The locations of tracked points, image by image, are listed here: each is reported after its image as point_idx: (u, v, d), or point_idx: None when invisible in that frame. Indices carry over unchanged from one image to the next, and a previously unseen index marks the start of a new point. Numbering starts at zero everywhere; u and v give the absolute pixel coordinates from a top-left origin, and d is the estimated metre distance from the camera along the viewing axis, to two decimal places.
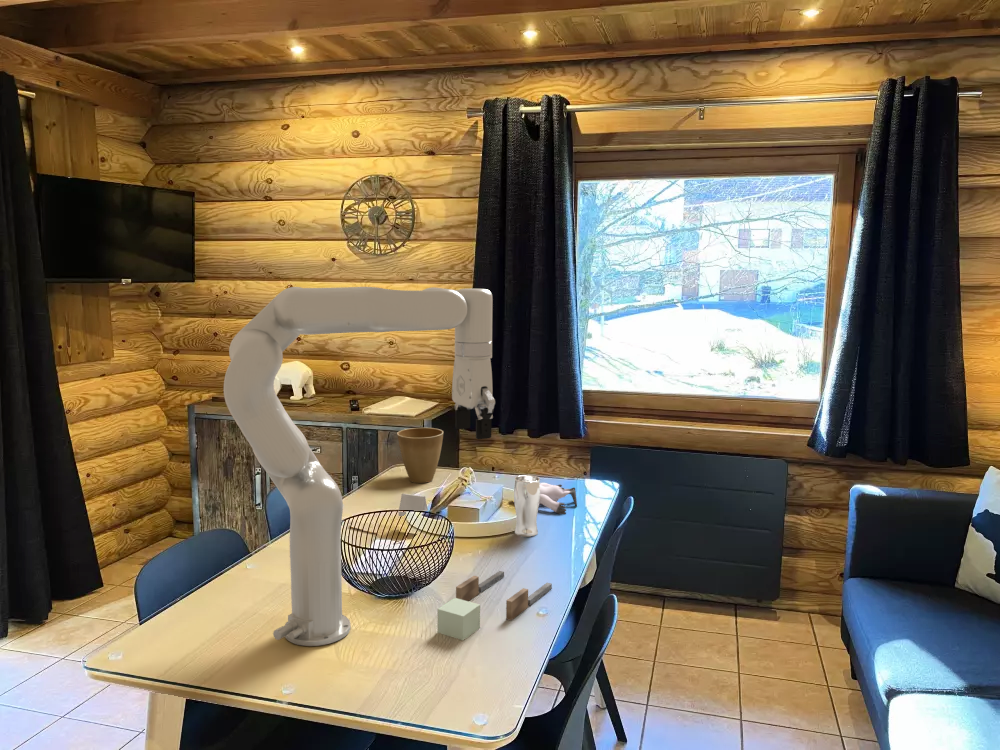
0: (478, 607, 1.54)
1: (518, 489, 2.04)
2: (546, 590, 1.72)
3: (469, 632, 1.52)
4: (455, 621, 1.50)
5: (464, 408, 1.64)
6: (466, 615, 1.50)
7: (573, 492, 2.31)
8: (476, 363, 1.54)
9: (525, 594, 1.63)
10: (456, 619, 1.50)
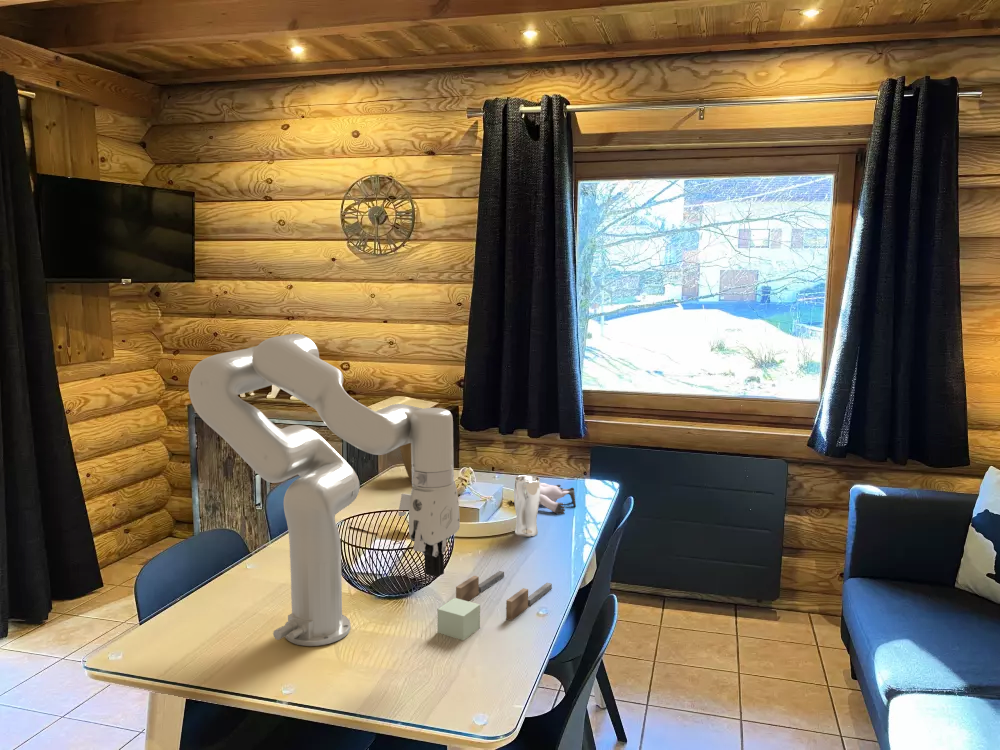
0: (478, 607, 1.54)
1: (518, 489, 2.04)
2: (546, 590, 1.72)
3: (469, 632, 1.52)
4: (455, 621, 1.50)
5: None
6: (466, 615, 1.50)
7: (572, 492, 2.31)
8: None
9: (525, 594, 1.63)
10: (456, 619, 1.50)
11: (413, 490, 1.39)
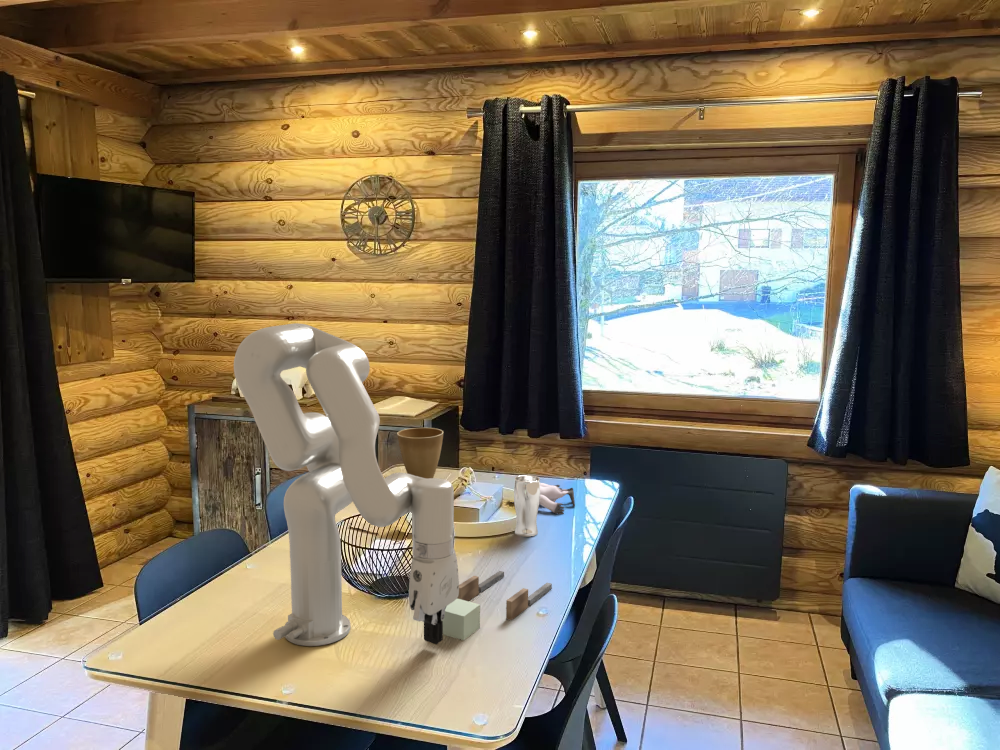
0: (478, 607, 1.54)
1: (518, 489, 2.04)
2: (546, 590, 1.72)
3: (469, 632, 1.52)
4: (455, 621, 1.50)
5: None
6: (466, 615, 1.50)
7: (571, 492, 2.31)
8: None
9: (525, 594, 1.63)
10: (456, 619, 1.50)
11: (413, 561, 1.41)
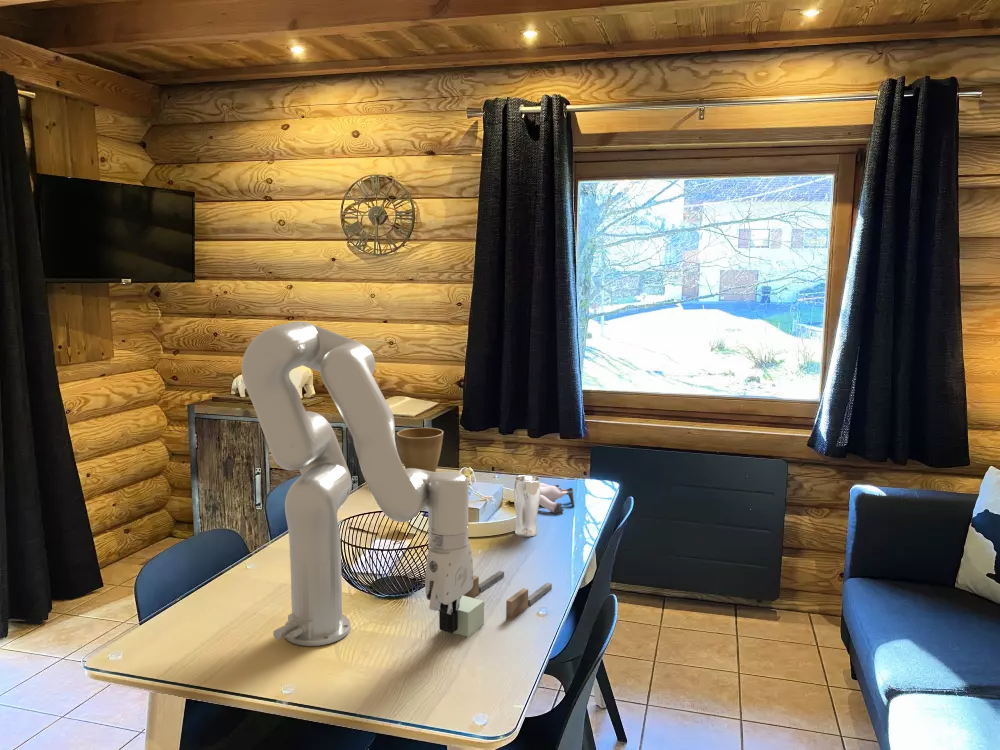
0: (482, 603, 1.55)
1: (518, 489, 2.04)
2: (546, 590, 1.72)
3: (474, 628, 1.53)
4: (459, 617, 1.52)
5: None
6: (471, 611, 1.52)
7: (570, 492, 2.31)
8: None
9: (525, 594, 1.63)
10: (461, 615, 1.52)
11: (430, 552, 1.45)
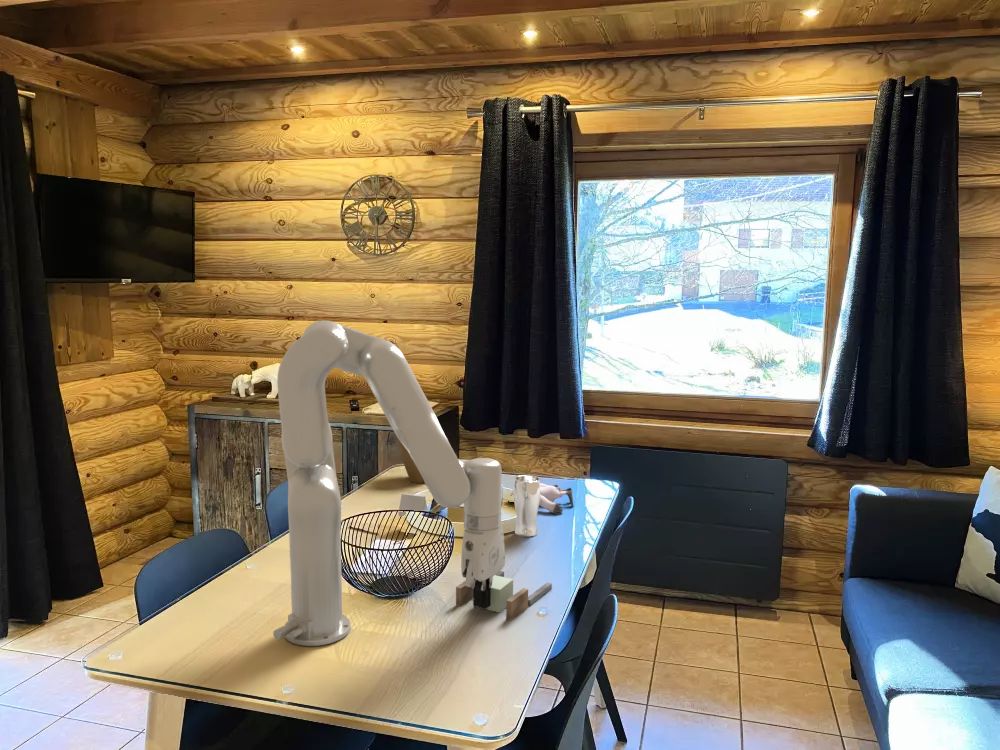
0: (511, 581, 1.66)
1: (518, 489, 2.04)
2: (546, 590, 1.72)
3: (504, 604, 1.64)
4: (491, 594, 1.62)
5: None
6: (502, 588, 1.62)
7: (569, 492, 2.31)
8: None
9: (525, 594, 1.63)
10: (493, 592, 1.62)
11: (465, 532, 1.56)
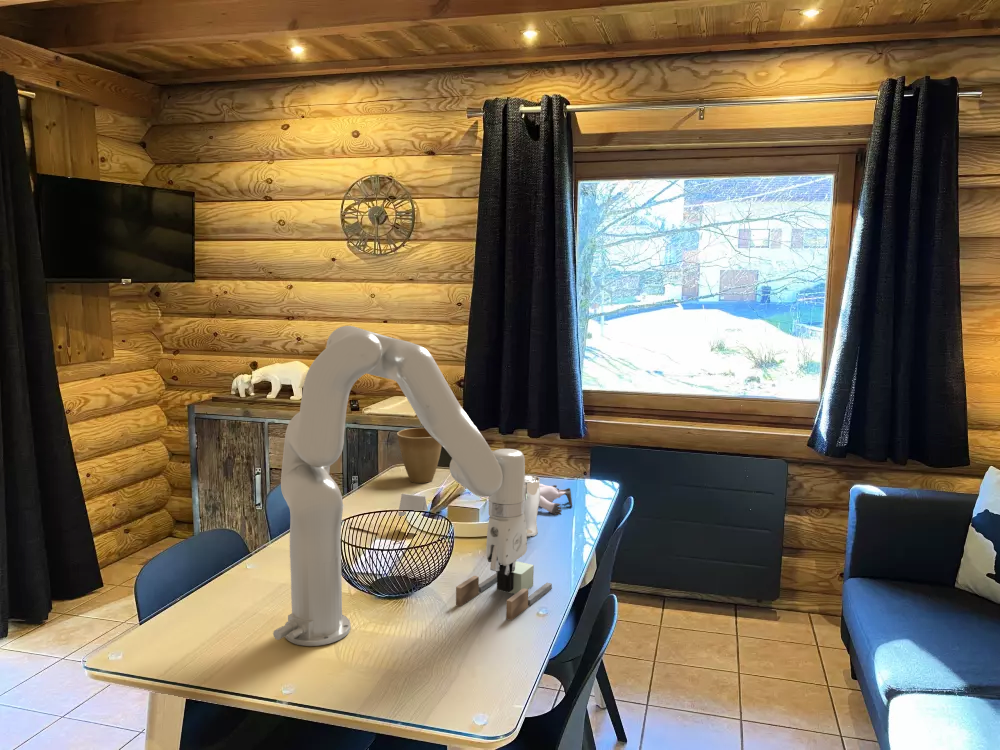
0: (532, 567, 1.74)
1: None
2: (546, 590, 1.72)
3: None
4: None
5: None
6: (523, 573, 1.70)
7: (568, 493, 2.31)
8: None
9: (525, 594, 1.63)
10: (514, 577, 1.70)
11: (491, 519, 1.64)
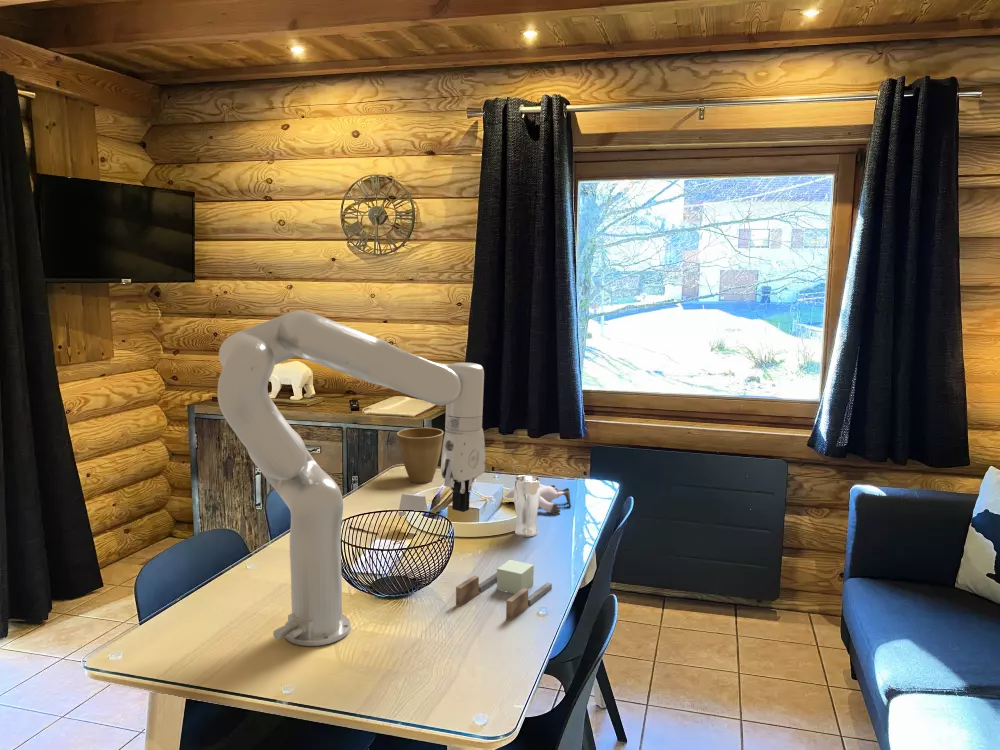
0: (532, 567, 1.74)
1: (518, 489, 2.04)
2: (546, 590, 1.72)
3: (525, 588, 1.72)
4: (513, 578, 1.71)
5: None
6: (523, 573, 1.70)
7: (567, 493, 2.30)
8: None
9: (525, 594, 1.63)
10: (515, 576, 1.70)
11: (446, 433, 1.58)
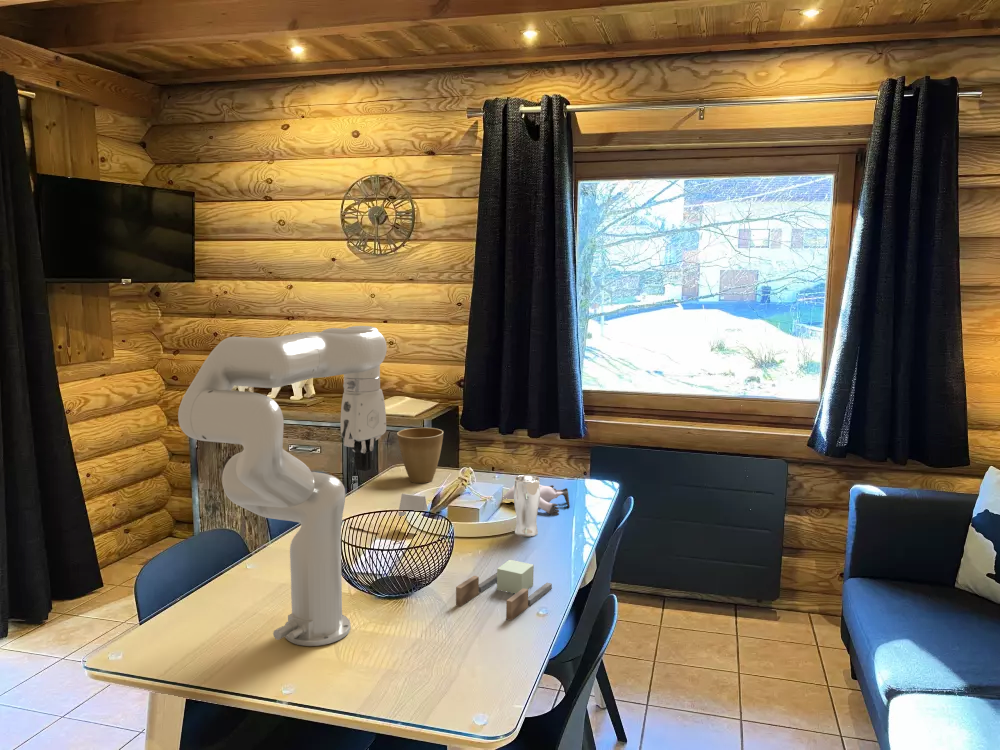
0: (532, 567, 1.74)
1: (518, 489, 2.04)
2: (546, 590, 1.72)
3: (525, 588, 1.72)
4: (513, 578, 1.71)
5: None
6: (523, 573, 1.70)
7: (566, 493, 2.30)
8: None
9: (525, 594, 1.63)
10: (515, 576, 1.70)
11: (344, 394, 1.63)
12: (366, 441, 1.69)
